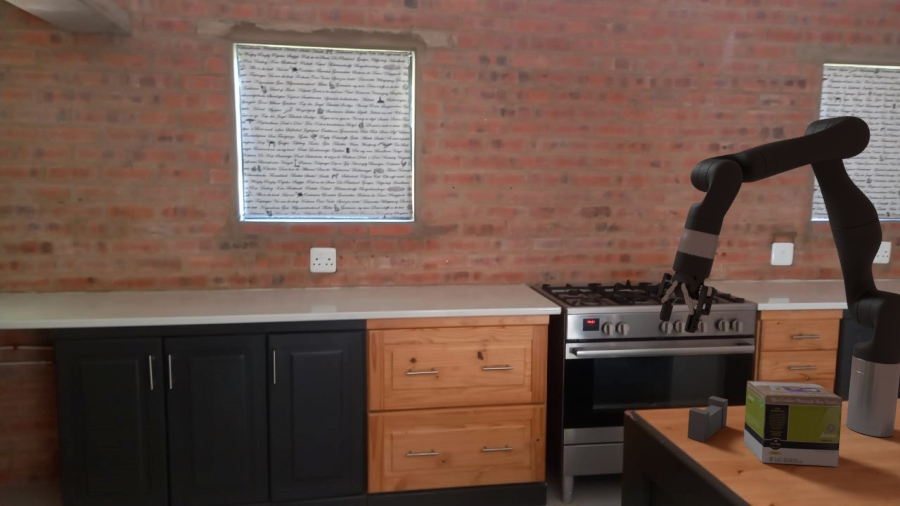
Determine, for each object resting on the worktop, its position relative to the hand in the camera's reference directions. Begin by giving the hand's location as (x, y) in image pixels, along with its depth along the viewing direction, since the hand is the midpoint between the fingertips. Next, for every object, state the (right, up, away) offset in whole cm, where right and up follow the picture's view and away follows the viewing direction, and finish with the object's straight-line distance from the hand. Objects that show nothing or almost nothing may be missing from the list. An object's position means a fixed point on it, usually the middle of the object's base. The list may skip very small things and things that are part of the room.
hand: (676, 326), depth 126 cm
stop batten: (+11, -26, +10) cm, 30 cm away
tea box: (+23, -27, -2) cm, 36 cm away
